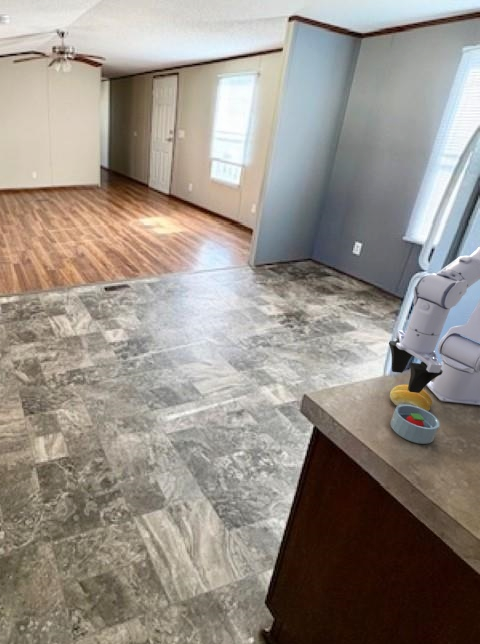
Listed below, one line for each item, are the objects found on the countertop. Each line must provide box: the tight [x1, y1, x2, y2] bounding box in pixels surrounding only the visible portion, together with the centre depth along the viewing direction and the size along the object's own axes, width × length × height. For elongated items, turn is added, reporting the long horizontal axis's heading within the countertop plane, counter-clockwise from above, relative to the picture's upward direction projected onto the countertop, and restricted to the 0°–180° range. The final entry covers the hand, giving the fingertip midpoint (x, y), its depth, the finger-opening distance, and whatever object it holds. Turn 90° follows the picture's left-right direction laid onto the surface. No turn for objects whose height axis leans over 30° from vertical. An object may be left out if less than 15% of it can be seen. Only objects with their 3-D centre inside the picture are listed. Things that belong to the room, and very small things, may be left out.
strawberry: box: [405, 413, 424, 427], centre depth 93 cm, size 3×3×4 cm
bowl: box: [389, 404, 441, 445], centre depth 93 cm, size 8×8×4 cm
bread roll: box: [389, 383, 433, 412], centre depth 103 cm, size 8×9×4 cm
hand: (405, 381), depth 96 cm, fingers open, 7 cm apart
